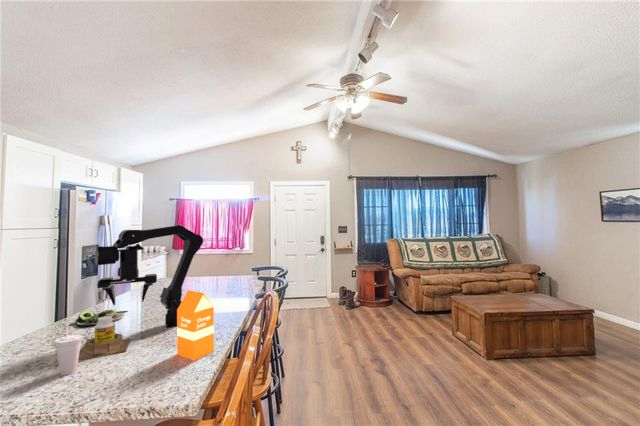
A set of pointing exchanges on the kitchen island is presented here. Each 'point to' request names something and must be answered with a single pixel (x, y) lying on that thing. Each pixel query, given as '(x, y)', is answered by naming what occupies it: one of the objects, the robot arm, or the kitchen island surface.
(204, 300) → the orange juice
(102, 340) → the supplement bottle
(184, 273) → the robot arm
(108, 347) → the caddy
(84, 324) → the salad plate
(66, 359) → the smoothie
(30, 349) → the kitchen island surface
